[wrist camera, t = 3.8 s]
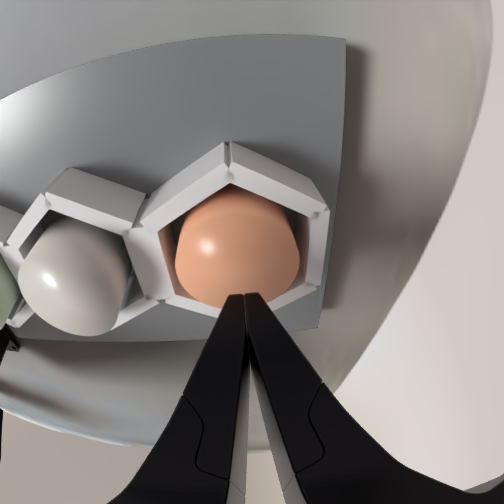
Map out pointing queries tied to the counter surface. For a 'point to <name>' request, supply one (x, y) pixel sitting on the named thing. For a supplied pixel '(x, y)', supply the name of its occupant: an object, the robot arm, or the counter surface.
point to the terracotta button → (236, 247)
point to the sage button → (7, 291)
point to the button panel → (176, 165)
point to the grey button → (76, 276)
